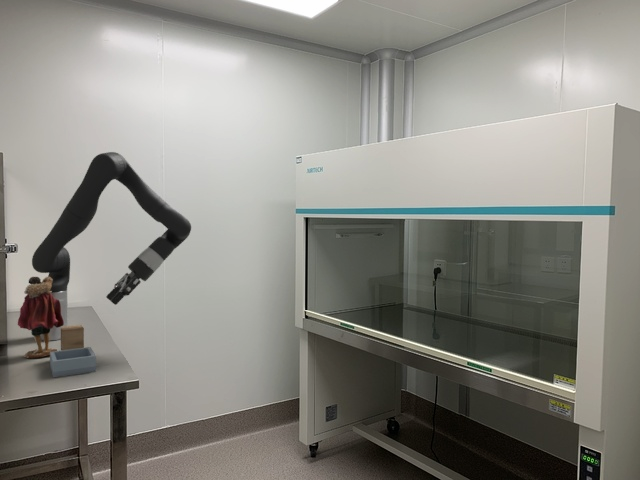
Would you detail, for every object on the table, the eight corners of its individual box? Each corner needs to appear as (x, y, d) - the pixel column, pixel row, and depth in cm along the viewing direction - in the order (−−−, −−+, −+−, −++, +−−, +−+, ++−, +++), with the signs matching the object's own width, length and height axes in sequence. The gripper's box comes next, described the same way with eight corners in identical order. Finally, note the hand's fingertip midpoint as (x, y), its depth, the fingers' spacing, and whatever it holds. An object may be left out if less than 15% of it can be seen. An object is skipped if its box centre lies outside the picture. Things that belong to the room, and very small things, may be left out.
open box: (50, 366, 146) (50, 351, 146) (90, 361, 152) (90, 346, 152) (53, 377, 137) (53, 361, 136) (96, 371, 143) (96, 356, 142)
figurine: (54, 347, 166) (53, 274, 165) (68, 353, 160) (67, 277, 158) (13, 355, 157) (12, 277, 155) (26, 362, 150) (25, 280, 149)
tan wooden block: (60, 358, 155) (60, 326, 154) (81, 355, 158) (81, 324, 157) (62, 362, 150) (62, 330, 150) (83, 359, 154) (83, 328, 153)
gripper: (133, 255, 169) (98, 290, 164) (142, 258, 157) (105, 296, 152) (149, 269, 172) (115, 305, 167) (160, 273, 160) (123, 311, 155)
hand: (110, 301), depth 159 cm, fingers open, 8 cm apart
